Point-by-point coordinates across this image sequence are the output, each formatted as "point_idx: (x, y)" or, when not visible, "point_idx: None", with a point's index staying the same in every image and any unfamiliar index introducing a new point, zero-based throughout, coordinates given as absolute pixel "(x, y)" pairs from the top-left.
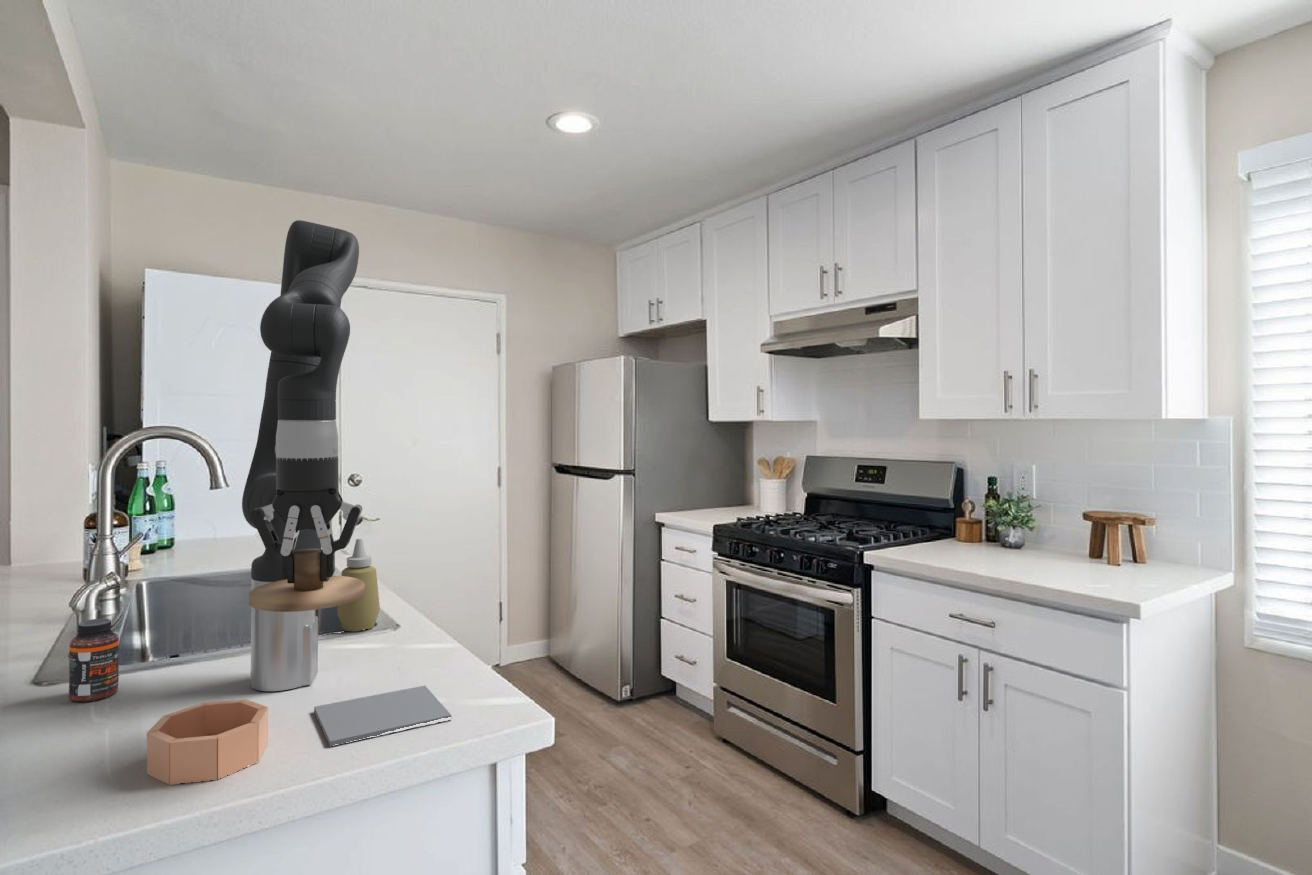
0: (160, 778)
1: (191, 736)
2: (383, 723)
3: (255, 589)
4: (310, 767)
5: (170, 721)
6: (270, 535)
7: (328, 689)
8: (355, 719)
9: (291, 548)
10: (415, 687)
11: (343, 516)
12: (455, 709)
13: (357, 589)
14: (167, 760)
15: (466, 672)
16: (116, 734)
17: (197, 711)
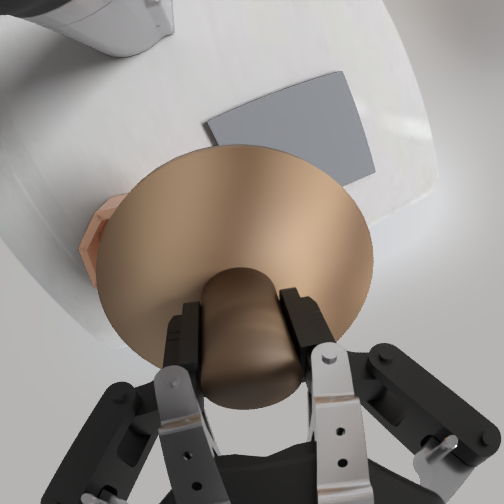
0: None
1: (105, 220)
2: None
3: (107, 304)
4: None
5: (89, 249)
6: (142, 463)
7: (203, 45)
8: None
9: (207, 419)
10: (331, 75)
11: (416, 464)
12: (376, 140)
13: (357, 310)
14: None
15: (379, 28)
16: (28, 185)
17: (99, 225)
